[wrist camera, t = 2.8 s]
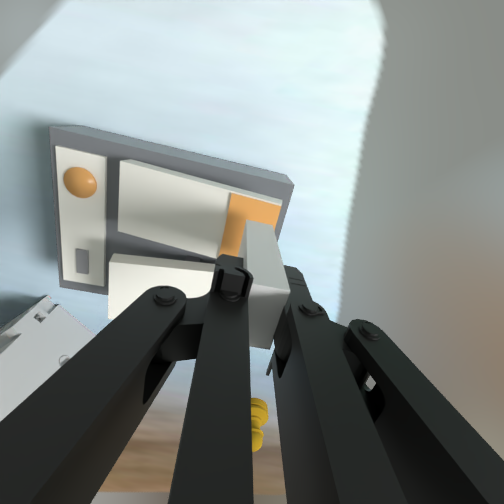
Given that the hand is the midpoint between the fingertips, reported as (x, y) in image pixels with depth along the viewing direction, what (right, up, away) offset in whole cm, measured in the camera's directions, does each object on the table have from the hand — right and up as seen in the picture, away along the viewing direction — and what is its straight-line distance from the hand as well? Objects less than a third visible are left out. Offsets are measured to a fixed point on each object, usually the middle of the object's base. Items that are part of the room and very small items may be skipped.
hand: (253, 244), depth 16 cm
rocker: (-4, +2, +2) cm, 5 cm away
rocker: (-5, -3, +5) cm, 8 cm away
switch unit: (-6, +2, +9) cm, 11 cm away
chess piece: (0, -20, +20) cm, 28 cm away
